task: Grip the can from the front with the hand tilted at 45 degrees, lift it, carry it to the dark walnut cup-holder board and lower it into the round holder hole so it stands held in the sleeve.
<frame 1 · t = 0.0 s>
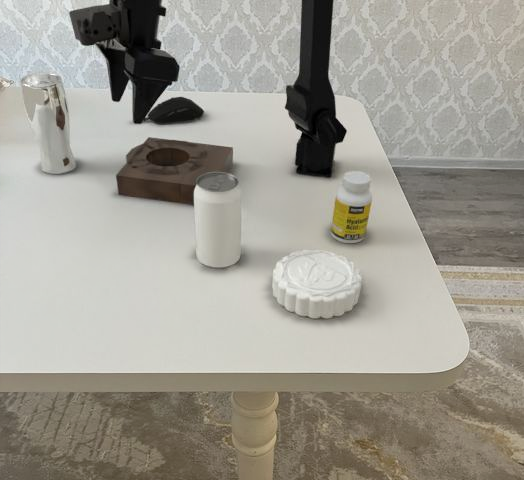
hand: (125, 112, 86), 15 cm above the table, tool pointing down, fingers open, 9 cm apart
mooncake: (315, 293, 81), on the table
holder board: (178, 179, 104), on the table
can: (218, 258, 87), on the table
supplement bottle: (347, 236, 93), on the table
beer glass: (59, 167, 106), on the table
gaming mouse: (169, 119, 124), on the table
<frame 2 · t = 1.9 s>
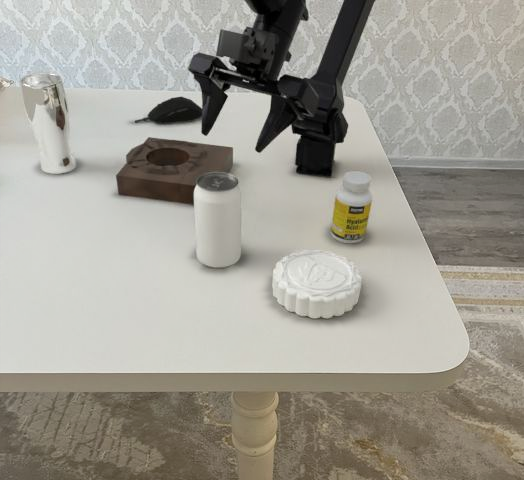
hand: (230, 142, 83), 14 cm above the table, tool tilted 40°, fingers open, 9 cm apart
nothing on the table moved.
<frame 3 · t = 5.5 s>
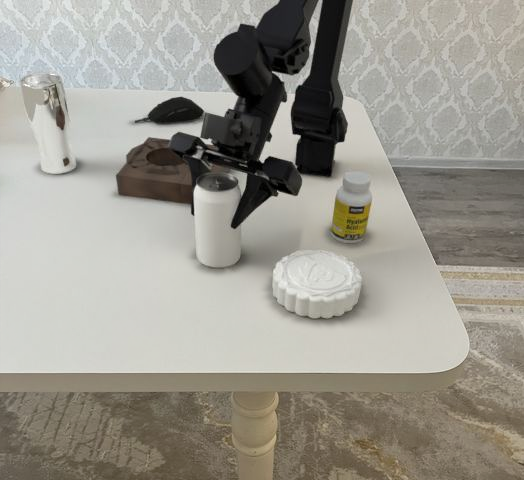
hand: (212, 221, 81), 7 cm above the table, tool tilted 45°, fingers closed on can, 6 cm apart
can: (218, 258, 87), on the table, touching gripper
everything else where it was.
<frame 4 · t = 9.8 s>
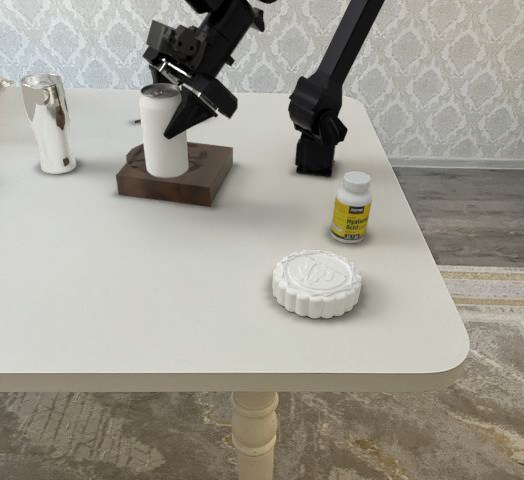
hand: (155, 129, 86), 13 cm above the table, tool tilted 45°, fingers closed on can, 6 cm apart
can: (167, 171, 92), point 7 cm above the table, touching gripper
everything else where it was.
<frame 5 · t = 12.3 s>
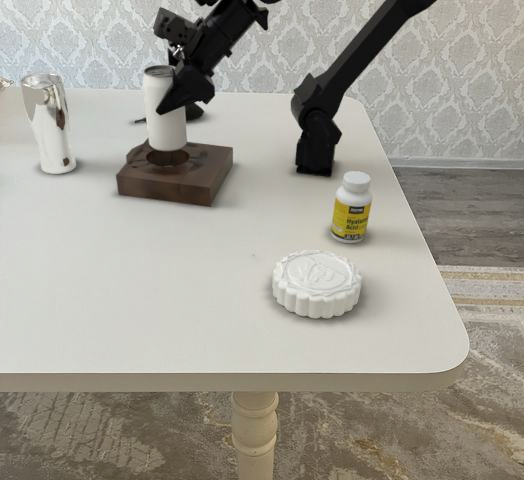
hand: (156, 105, 97), 12 cm above the table, tool tilted 45°, fingers closed on can, 6 cm apart
can: (168, 145, 101), point 6 cm above the table, touching gripper
everything else where it was.
when the fingers open (7 cm above the table, at t = 14.3 s): can stays where it is, resting in holder board.
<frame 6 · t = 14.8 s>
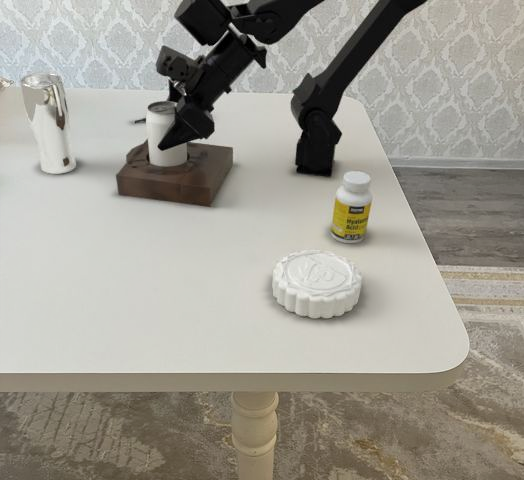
hand: (157, 137, 100), 7 cm above the table, tool tilted 45°, fingers open, 9 cm apart
can: (169, 176, 105), resting in holder board
everything else where it was.
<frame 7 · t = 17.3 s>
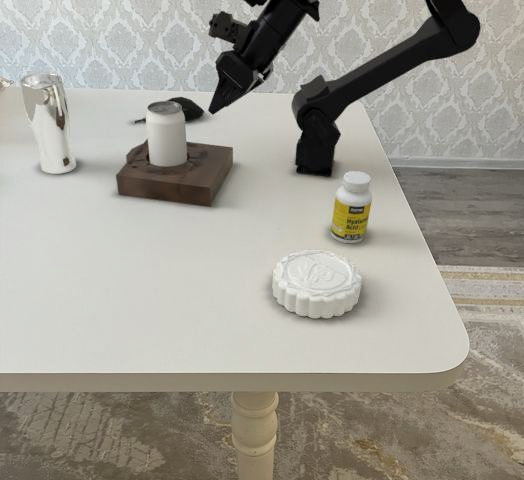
hand: (217, 108, 100), 11 cm above the table, tool tilted 35°, fingers open, 9 cm apart
nothing on the table moved.
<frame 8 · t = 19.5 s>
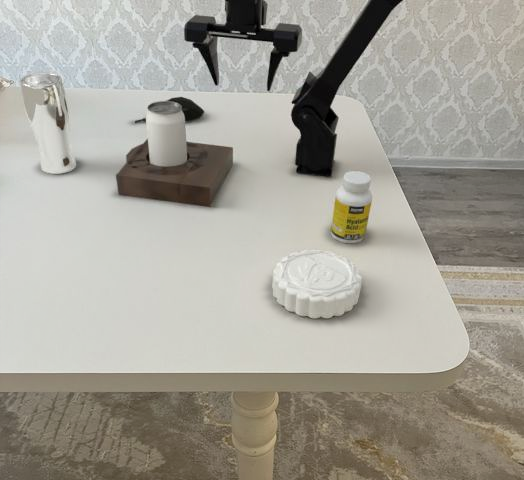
hand: (242, 87, 102), 13 cm above the table, tool pointing down, fingers open, 9 cm apart
nothing on the table moved.
at the end: can 0.1 cm from the target spot in the holder board, point 0.0 cm above the holder board's base; can tilted 0°; the gripper is holding nothing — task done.
